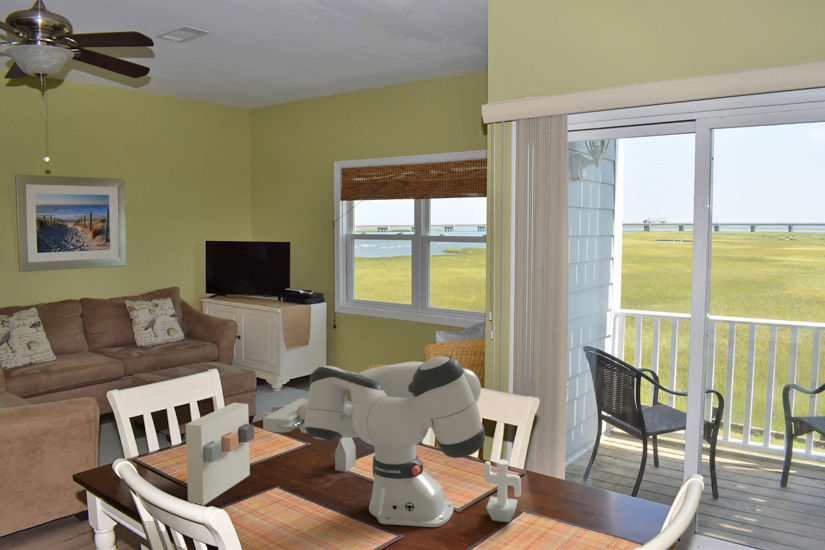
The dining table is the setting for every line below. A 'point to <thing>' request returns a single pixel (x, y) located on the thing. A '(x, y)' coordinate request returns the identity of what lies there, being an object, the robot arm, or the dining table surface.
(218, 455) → the slate grey button
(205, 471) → the control panel
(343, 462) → the white carton box
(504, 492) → the figurine
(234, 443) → the terracotta button
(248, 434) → the charcoal button
